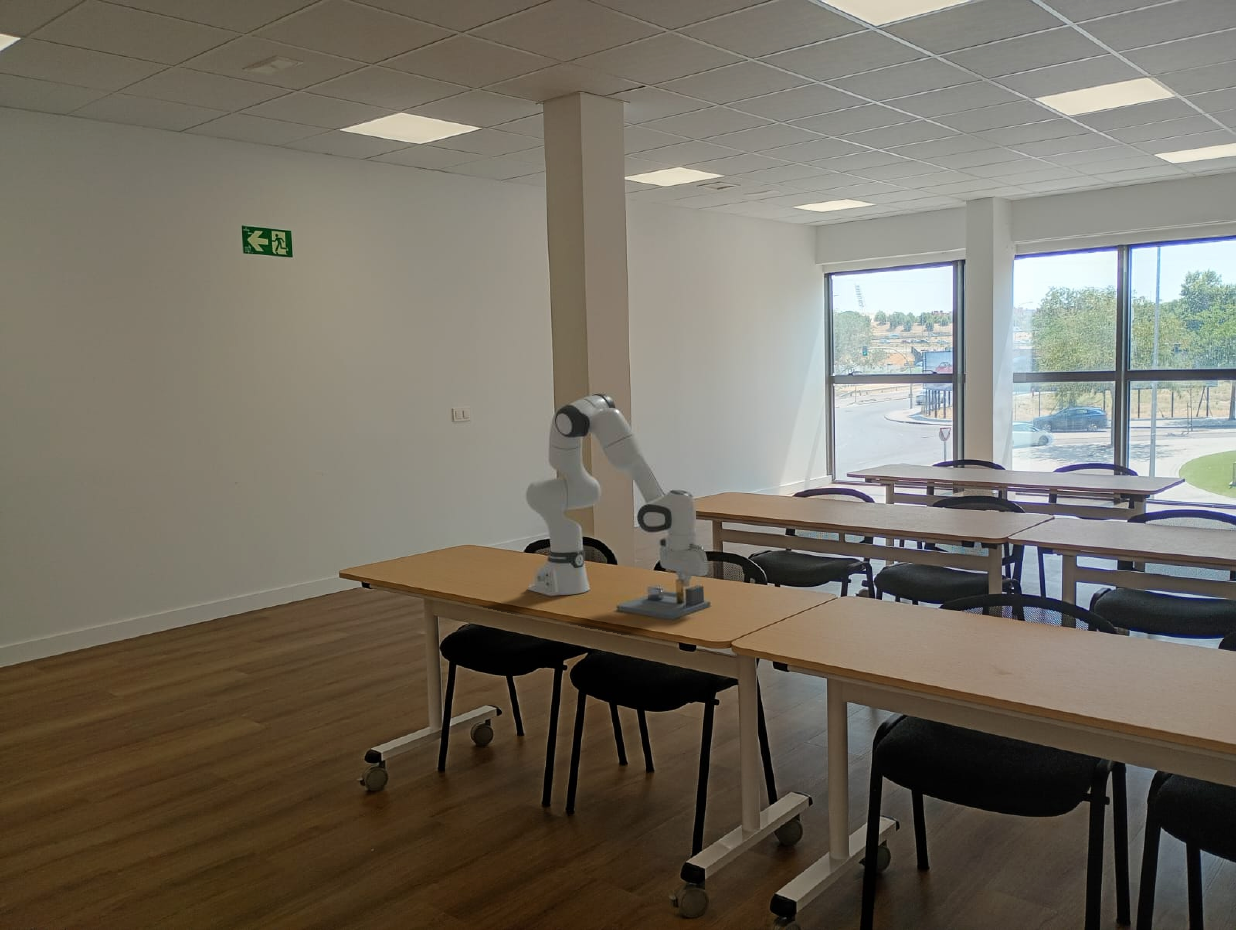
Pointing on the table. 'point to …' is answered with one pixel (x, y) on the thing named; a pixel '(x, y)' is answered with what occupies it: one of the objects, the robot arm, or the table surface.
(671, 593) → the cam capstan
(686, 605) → the stand
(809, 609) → the table surface
